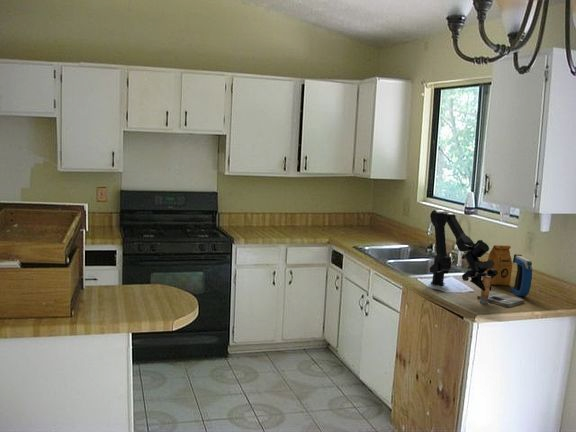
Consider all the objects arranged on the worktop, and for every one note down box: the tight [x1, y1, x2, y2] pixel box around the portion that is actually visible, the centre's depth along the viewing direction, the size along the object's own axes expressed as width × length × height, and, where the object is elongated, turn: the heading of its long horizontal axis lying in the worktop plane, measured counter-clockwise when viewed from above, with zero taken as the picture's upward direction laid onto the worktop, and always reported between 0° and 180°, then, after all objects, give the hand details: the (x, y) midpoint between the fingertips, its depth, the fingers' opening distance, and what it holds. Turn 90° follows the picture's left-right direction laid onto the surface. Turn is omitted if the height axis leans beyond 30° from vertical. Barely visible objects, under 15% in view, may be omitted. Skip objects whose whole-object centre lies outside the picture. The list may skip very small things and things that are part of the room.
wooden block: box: [479, 276, 491, 305], centre depth 282 cm, size 4×4×13 cm
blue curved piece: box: [509, 253, 533, 297], centre depth 303 cm, size 5×16×20 cm, turn 2°
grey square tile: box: [476, 291, 525, 308], centre depth 290 cm, size 16×16×2 cm
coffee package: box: [485, 244, 513, 286], centre depth 322 cm, size 10×12×22 cm
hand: (487, 290), depth 280 cm, fingers closed on wooden block, 4 cm apart
